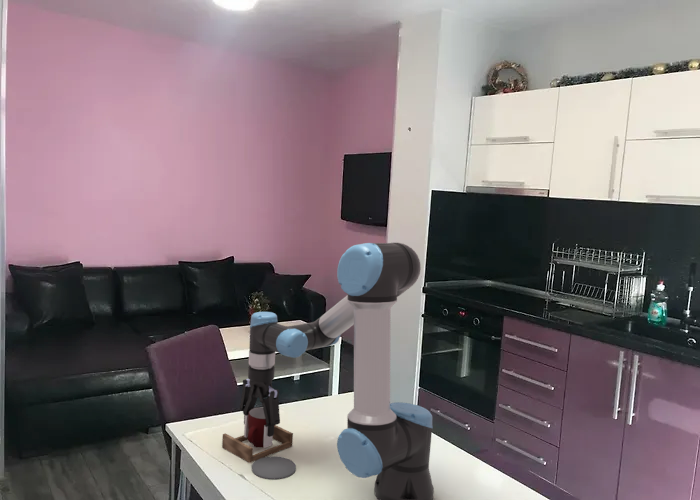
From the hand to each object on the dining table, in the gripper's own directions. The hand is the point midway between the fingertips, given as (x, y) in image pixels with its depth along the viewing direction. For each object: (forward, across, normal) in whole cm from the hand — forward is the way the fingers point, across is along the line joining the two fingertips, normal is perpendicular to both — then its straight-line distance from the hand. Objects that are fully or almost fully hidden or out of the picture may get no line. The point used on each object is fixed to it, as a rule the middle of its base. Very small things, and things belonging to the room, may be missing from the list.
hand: (257, 440), depth 168 cm
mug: (+2, 0, 0) cm, 2 cm away
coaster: (+2, -13, +5) cm, 14 cm away
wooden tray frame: (+2, 0, 0) cm, 2 cm away
